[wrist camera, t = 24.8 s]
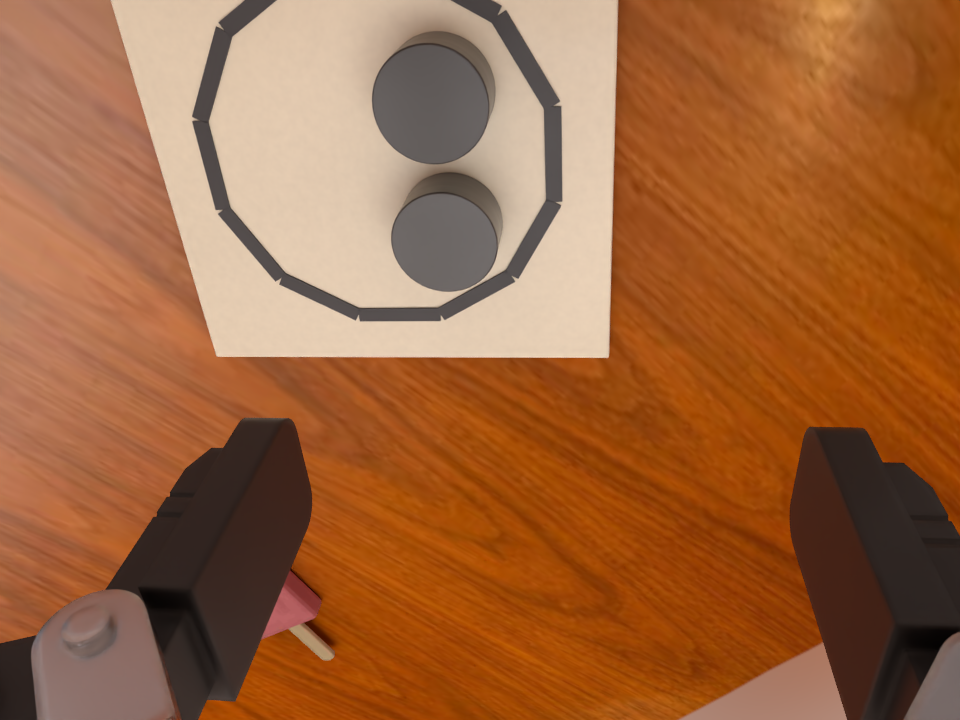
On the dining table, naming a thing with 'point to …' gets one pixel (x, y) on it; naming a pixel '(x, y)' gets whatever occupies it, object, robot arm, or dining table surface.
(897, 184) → the dining table surface
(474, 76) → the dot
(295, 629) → the popsicle
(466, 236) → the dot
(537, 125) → the board
